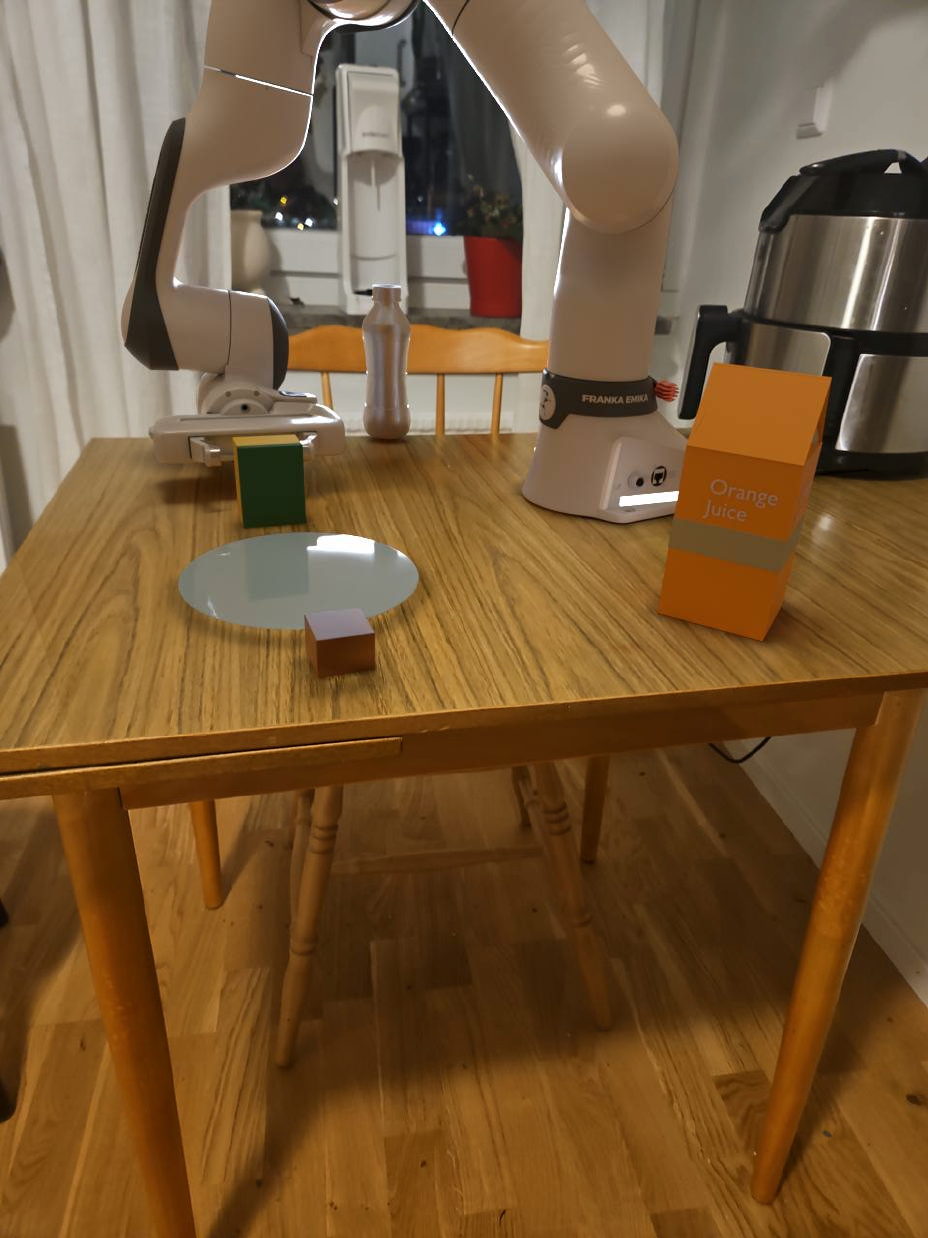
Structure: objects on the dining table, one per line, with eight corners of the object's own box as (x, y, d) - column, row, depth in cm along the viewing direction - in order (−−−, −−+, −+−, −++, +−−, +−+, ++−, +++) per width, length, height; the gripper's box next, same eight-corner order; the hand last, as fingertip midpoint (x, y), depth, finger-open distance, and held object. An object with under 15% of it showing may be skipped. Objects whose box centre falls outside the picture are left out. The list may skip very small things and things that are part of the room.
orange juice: (683, 582, 74) (725, 355, 65) (782, 607, 70) (842, 370, 61) (655, 613, 68) (698, 368, 59) (762, 642, 64) (825, 385, 55)
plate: (382, 535, 81) (382, 524, 81) (451, 624, 65) (452, 610, 64) (171, 555, 74) (170, 542, 74) (189, 659, 58) (188, 645, 57)
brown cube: (360, 656, 59) (359, 607, 58) (375, 683, 56) (375, 632, 54) (306, 664, 58) (303, 614, 56) (318, 692, 55) (316, 640, 53)
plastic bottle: (403, 446, 111) (405, 289, 102) (356, 441, 112) (354, 285, 103) (415, 434, 117) (418, 285, 108) (370, 430, 118) (369, 282, 109)
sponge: (299, 520, 84) (294, 434, 80) (306, 534, 80) (302, 444, 76) (239, 525, 82) (232, 437, 78) (244, 539, 78) (237, 448, 74)
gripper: (143, 398, 89) (149, 429, 78) (327, 393, 96) (357, 421, 85) (151, 454, 92) (157, 493, 81) (329, 445, 99) (358, 479, 88)
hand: (261, 456), depth 83 cm, fingers open, 8 cm apart
